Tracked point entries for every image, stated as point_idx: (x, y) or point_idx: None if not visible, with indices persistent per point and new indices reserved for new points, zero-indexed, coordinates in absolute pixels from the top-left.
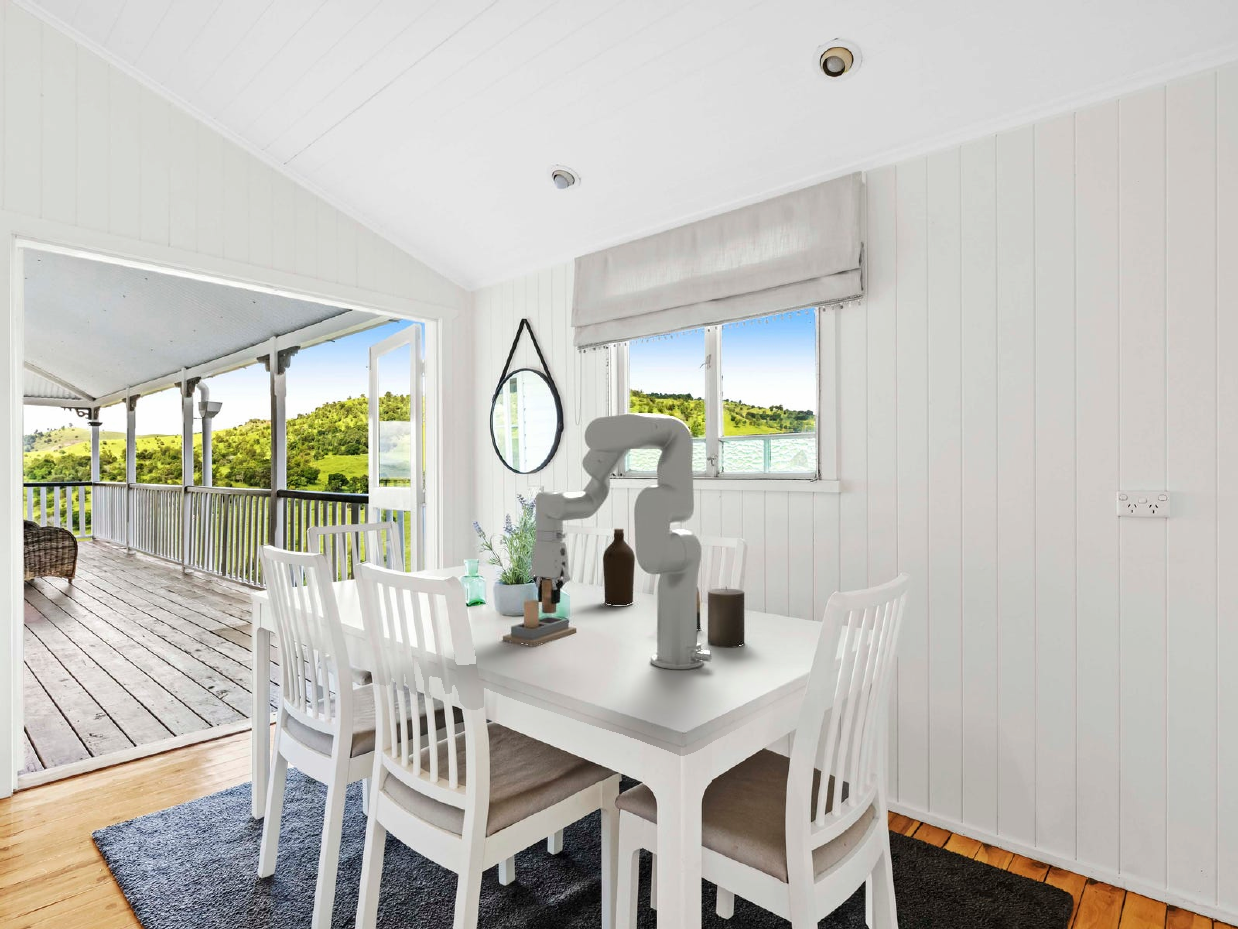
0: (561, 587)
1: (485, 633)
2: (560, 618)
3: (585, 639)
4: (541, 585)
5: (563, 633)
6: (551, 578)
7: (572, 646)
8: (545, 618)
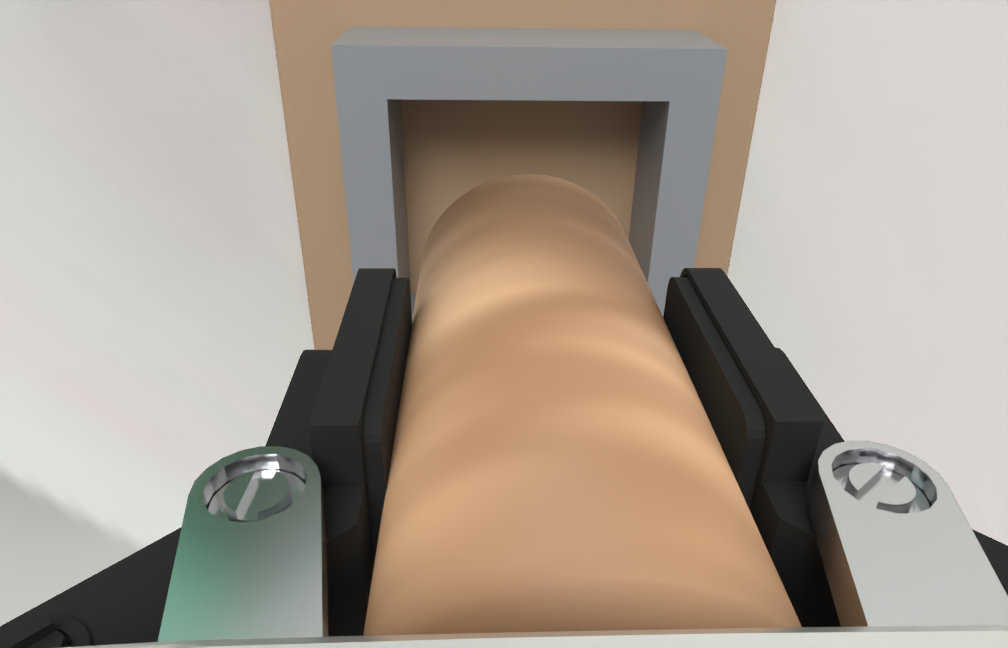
0: (919, 492)
1: (39, 466)
2: (596, 70)
3: (977, 157)
4: (362, 627)
5: (734, 216)
6: (526, 607)
7: (941, 395)
8: (391, 149)
